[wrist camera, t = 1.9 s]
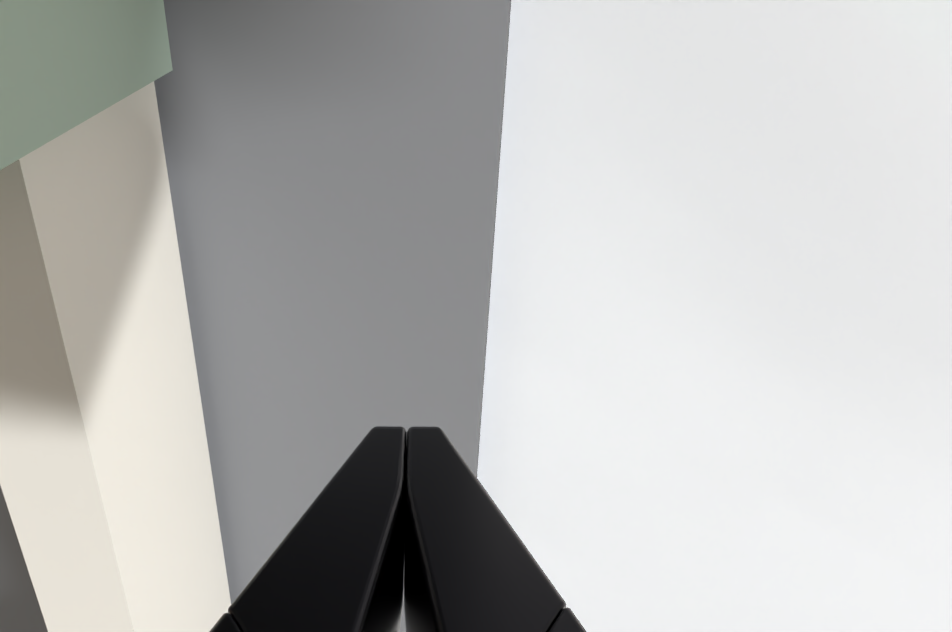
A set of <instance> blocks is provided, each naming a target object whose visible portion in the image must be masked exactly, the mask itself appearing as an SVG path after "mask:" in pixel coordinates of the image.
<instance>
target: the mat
mask: <svg viewBox="0 0 952 632" xmlns="http://www.w3.org/2000/svg"><path fill="white" fill-rule="evenodd" d="M163 1H164V9H165V16H166V24H167V31H168V38H169V46H170V53H171V61H172V68H173V70H172V71H170V72H169V73H167V74H165V75H164V76H162V77H160V78H158V79H157V80H155V81H154V85H155V91H156V98H157V105H158V112H159V118H160V125H161V132H162V139H163V146H164V152H165V159H166V166H167V173H168V179H169V186H170V193H171V200H172V207H173V213H174V220H175V227H176V234H177V240H178V247H179V254H180V261H181V268H182V274H183V281H184V288H185V295H186V301H187V308H188V315H189V322H190V329H191V335H192V342H193V349H194V356H195V362H196V369H197V376H198V383H199V390H200V396H201V403H202V410H203V417H204V423H205V430H206V437H207V444H208V451H209V457H210V464H211V471H212V478H213V485H214V491H215V498H216V505H217V512H218V518H219V525H220V532H221V539H222V546H223V552H224V559H225V566H226V573H227V579H228V586H229V593H230V600H231V604H232V603H233V602H234V600H235V599H236V598H237V597H238V595H239V594H240V593H241V592H242V590H243V589H244V588H245V587H246V585H247V584H248V583H249V582H250V580H251V579H252V578H253V577H254V575H255V574H256V573H257V572H258V570H259V569H260V568H261V567H262V565H263V564H264V563H265V562H266V560H267V559H268V558H269V557H270V555H271V554H272V553H273V552H274V550H275V549H276V548H277V547H278V545H279V544H280V543H281V542H282V540H283V539H284V538H285V537H286V535H287V534H288V533H289V532H290V530H291V529H292V528H293V527H294V525H295V524H296V523H297V522H298V520H299V519H300V518H301V516H302V515H303V514H304V513H305V511H306V510H307V509H308V508H309V506H310V505H311V504H312V503H313V501H314V500H315V499H316V498H317V496H318V495H319V494H320V493H321V491H322V490H323V489H324V488H325V486H326V485H327V484H328V483H329V481H330V480H331V479H332V478H333V476H334V475H335V474H336V473H337V471H338V470H339V469H340V468H341V466H342V465H343V464H344V463H345V461H346V460H347V459H348V458H349V456H350V455H351V454H352V453H353V451H354V450H355V449H356V448H357V446H358V445H359V444H360V443H361V441H362V440H363V439H364V437H365V436H366V435H367V434H368V432H369V431H370V430H371V429H372V428H374V427H376V426H401V427H404V428H405V429H406V432H407V431H408V429H409V428H410V427H413V426H427V427H440V428H441V429H442V430H443V431H444V433H445V434H446V435H447V437H448V438H449V440H450V441H451V442H452V444H453V445H454V447H455V448H456V449H457V451H458V452H459V454H460V455H461V456H462V458H463V459H464V461H465V462H466V463H467V465H468V466H469V468H470V469H471V471H472V472H473V473H474V475H475V476H476V478H477V467H478V453H479V439H480V425H481V412H482V398H483V384H484V370H485V356H486V342H487V328H488V314H489V301H490V287H491V273H492V259H493V245H494V231H495V217H496V204H497V190H498V176H499V162H500V148H501V134H502V120H503V107H504V93H505V79H506V65H507V51H508V37H509V23H510V10H511V0H163ZM0 632H48V630H47V627H46V624H45V621H44V618H43V615H42V611H41V608H40V605H39V602H38V599H37V596H36V593H35V590H34V587H33V584H32V581H31V578H30V575H29V572H28V569H27V565H26V562H25V559H24V556H23V553H22V550H21V547H20V544H19V541H18V538H17V535H16V532H15V529H14V526H13V523H12V519H11V516H10V513H9V510H8V507H7V504H6V501H5V498H4V495H3V492H2V489H1V486H0ZM399 632H406V626H405V613H404V589H403V607H402V615H401V624H400V631H399Z"/></svg>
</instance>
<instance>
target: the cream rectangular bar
mask: <svg viewBox="0 0 952 632" xmlns="http://www.w3.org/2000/svg"><path fill="white" fill-rule="evenodd" d="M172 70H173V68H172V61H171V53H170V46H169V38H168V31H167V24H166V16H165V9H164V1H163V0H0V486H1V489H2V492H3V495H4V498H5V501H6V504H7V507H8V510H9V513H10V516H11V519H12V523H13V526H14V529H15V532H16V535H17V538H18V541H19V544H20V547H21V550H22V553H23V556H24V559H25V562H26V565H27V569H28V572H29V575H30V578H31V581H32V584H33V587H34V590H35V593H36V596H37V599H38V602H39V605H40V608H41V611H42V615H43V618H44V621H45V624H46V627H47V630H48V632H209V631H210V630H211V629H212V628H213V626H214V625H215V624H216V623H217V621H218V620H219V619H220V617H221V616H222V615H223V614H224V613H228V608H229V607H230V606H231V600H230V593H229V586H228V579H227V573H226V566H225V559H224V552H223V546H222V539H221V532H220V525H219V518H218V512H217V505H216V498H215V491H214V485H213V478H212V471H211V464H210V457H209V451H208V444H207V437H206V430H205V423H204V417H203V410H202V403H201V396H200V390H199V383H198V376H197V369H196V362H195V356H194V349H193V342H192V335H191V329H190V322H189V315H188V308H187V301H186V295H185V288H184V281H183V274H182V268H181V261H180V254H179V247H178V240H177V234H176V227H175V220H174V213H173V207H172V200H171V193H170V186H169V179H168V173H167V166H166V159H165V152H164V146H163V139H162V132H161V125H160V118H159V112H158V105H157V98H156V91H155V85H154V81H155V80H157V79H158V78H160V77H162V76H164V75H165V74H167V73H169V72H170V71H172Z"/></svg>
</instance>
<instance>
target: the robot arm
mask: <svg viewBox="0 0 952 632" xmlns="http://www.w3.org/2000/svg"><path fill="white" fill-rule="evenodd" d="M403 589H404V613H405V626H406V632H586V631H585V629H584V628H583V626H582V625H581V623H580V622H579V621H578V619H577V618H576V616H575V615H574V613H573V612H572V611H571V609H570V608H566V603H565V601H564V600H563V599H562V597H561V596H560V594H559V593H558V591H557V590H556V589H555V587H554V586H553V584H552V583H551V582H550V580H549V579H548V577H547V576H546V575H545V573H544V572H543V570H542V569H541V568H540V566H539V565H538V563H537V562H536V561H535V559H534V558H533V556H532V555H531V554H530V552H529V551H528V549H527V548H526V546H525V545H524V544H523V542H522V541H521V539H520V538H519V537H518V535H517V534H516V532H515V531H514V530H513V528H512V527H511V525H510V524H509V523H508V521H507V520H506V518H505V517H504V516H503V514H502V513H501V511H500V510H499V509H498V507H497V506H496V504H495V503H494V501H493V500H492V499H491V497H490V496H489V494H488V493H487V492H486V490H485V489H484V487H483V486H482V485H481V483H480V482H479V480H478V479H477V478H476V476H475V475H474V473H473V472H472V471H471V469H470V468H469V466H468V465H467V463H466V462H465V461H464V459H463V458H462V456H461V455H460V454H459V452H458V451H457V449H456V448H455V447H454V445H453V444H452V442H451V441H450V440H449V438H448V437H447V435H446V434H445V433H444V431H443V430H442V429H441V428H440V427H427V426H413V427H410V428H409V429H408V431H407V432H406V429H405V428H404V427H401V426H376V427H374V428H372V429H371V430H370V431H369V432H368V434H367V435H366V436H365V437H364V439H363V440H362V441H361V443H360V444H359V445H358V446H357V448H356V449H355V450H354V451H353V453H352V454H351V455H350V456H349V458H348V459H347V460H346V461H345V463H344V464H343V465H342V466H341V468H340V469H339V470H338V471H337V473H336V474H335V475H334V476H333V478H332V479H331V480H330V481H329V483H328V484H327V485H326V486H325V488H324V489H323V490H322V491H321V493H320V494H319V495H318V496H317V498H316V499H315V500H314V501H313V503H312V504H311V505H310V506H309V508H308V509H307V510H306V511H305V513H304V514H303V515H302V516H301V518H300V519H299V520H298V522H297V523H296V524H295V525H294V527H293V528H292V529H291V530H290V532H289V533H288V534H287V535H286V537H285V538H284V539H283V540H282V542H281V543H280V544H279V545H278V547H277V548H276V549H275V550H274V552H273V553H272V554H271V555H270V557H269V558H268V559H267V560H266V562H265V563H264V564H263V565H262V567H261V568H260V569H259V570H258V572H257V573H256V574H255V575H254V577H253V578H252V579H251V580H250V582H249V583H248V584H247V585H246V587H245V588H244V589H243V590H242V592H241V593H240V594H239V595H238V597H237V598H236V599H235V600H234V602H233V603H232V604H231V606H230V607H229V608H228V613H224V614H223V615H222V616H221V617H220V619H219V620H218V621H217V623H216V624H215V625H214V626H213V628H212V629H211V630H210V631H209V632H399V631H400V624H401V615H402V607H403Z"/></svg>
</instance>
